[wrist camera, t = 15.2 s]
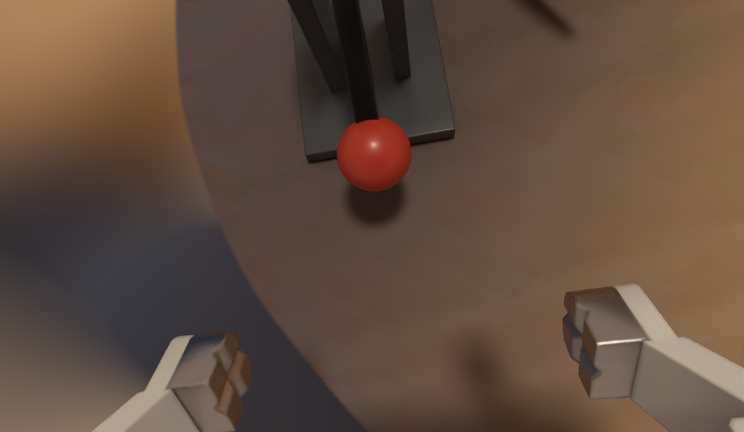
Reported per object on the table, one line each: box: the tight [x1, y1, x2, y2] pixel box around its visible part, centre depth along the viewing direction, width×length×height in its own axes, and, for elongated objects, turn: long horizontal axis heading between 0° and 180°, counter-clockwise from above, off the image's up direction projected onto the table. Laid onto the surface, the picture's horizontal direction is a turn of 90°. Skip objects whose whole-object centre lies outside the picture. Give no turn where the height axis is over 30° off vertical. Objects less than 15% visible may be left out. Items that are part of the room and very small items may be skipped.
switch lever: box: [331, 0, 411, 191], centre depth 19 cm, size 13×4×4 cm
